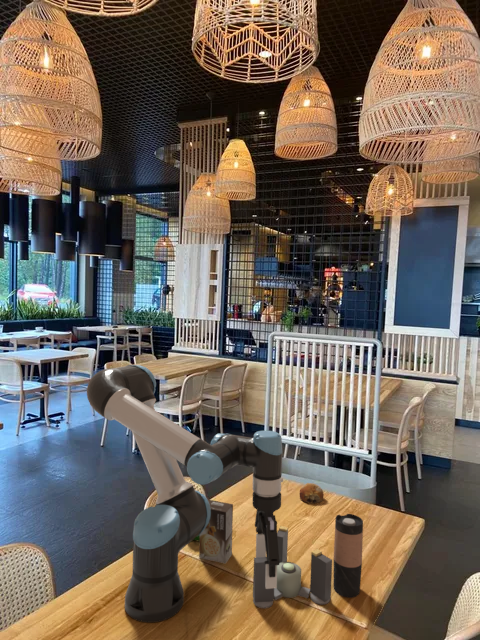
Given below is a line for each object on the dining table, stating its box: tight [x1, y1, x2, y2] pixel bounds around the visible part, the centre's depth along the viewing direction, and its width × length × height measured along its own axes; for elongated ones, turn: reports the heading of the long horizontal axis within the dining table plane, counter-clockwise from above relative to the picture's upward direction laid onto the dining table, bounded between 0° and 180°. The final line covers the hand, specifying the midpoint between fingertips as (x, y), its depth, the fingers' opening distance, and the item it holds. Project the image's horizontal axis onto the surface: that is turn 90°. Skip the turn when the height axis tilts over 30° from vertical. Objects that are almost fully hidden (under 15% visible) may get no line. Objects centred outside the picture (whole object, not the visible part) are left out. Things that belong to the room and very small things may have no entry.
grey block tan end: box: [277, 525, 289, 563], centre depth 131 cm, size 5×5×12 cm
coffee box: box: [198, 499, 234, 565], centre depth 138 cm, size 9×6×16 cm
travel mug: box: [333, 513, 364, 599], centre depth 123 cm, size 8×8×20 cm
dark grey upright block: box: [252, 556, 275, 609], centre depth 117 cm, size 5×5×12 cm
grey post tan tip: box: [309, 548, 333, 606], centre depth 119 cm, size 5×5×12 cm
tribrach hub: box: [274, 561, 311, 601], centre depth 123 cm, size 12×11×7 cm
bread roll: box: [299, 482, 324, 504], centre depth 183 cm, size 10×10×8 cm
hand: (265, 571), depth 117 cm, fingers open, 13 cm apart
